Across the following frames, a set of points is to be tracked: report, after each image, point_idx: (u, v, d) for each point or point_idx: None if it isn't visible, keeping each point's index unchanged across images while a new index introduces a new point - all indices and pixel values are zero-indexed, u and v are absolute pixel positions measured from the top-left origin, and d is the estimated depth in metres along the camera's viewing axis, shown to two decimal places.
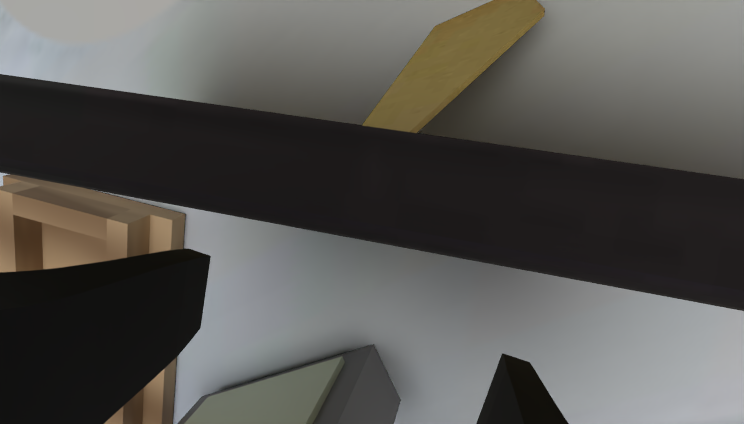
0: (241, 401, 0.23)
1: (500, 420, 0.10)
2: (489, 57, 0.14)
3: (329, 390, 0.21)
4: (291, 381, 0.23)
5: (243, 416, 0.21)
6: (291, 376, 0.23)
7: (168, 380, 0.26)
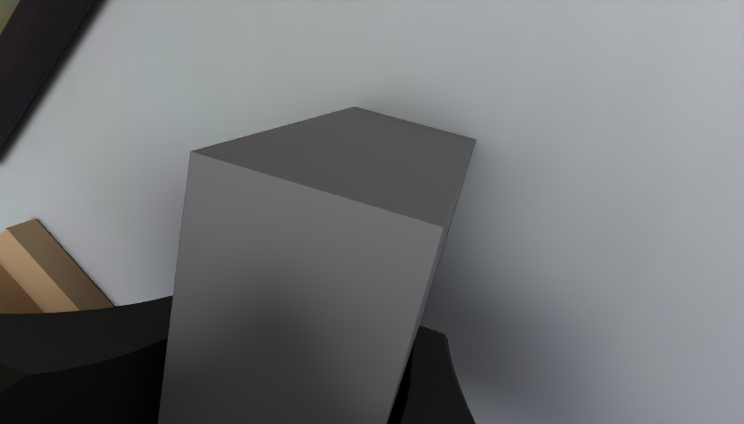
0: None
1: (403, 385, 0.10)
2: None
3: None
4: None
5: None
6: None
7: None
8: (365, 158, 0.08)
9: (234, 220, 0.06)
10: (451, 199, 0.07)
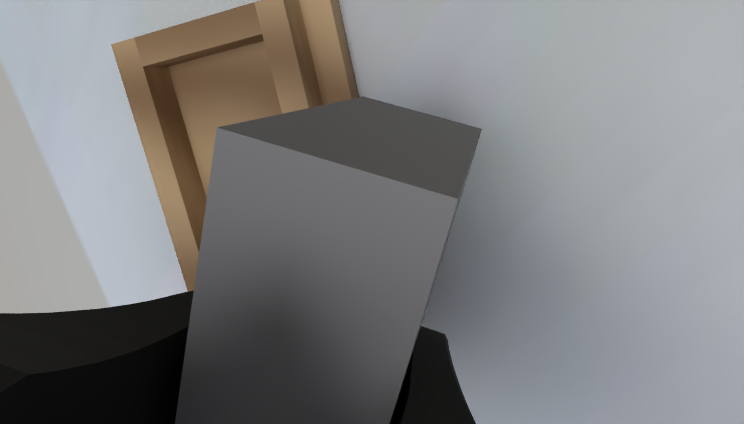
0: None
1: (403, 386, 0.10)
2: None
3: None
4: None
5: None
6: None
7: None
8: (379, 139, 0.08)
9: (257, 193, 0.06)
10: (463, 176, 0.07)
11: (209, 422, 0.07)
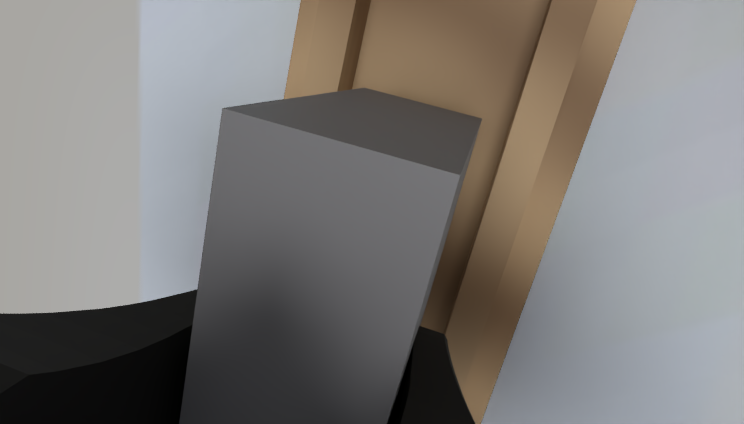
0: None
1: (402, 385, 0.10)
2: None
3: None
4: None
5: None
6: None
7: None
8: (382, 123, 0.08)
9: (263, 173, 0.06)
10: (465, 157, 0.07)
11: (215, 402, 0.08)
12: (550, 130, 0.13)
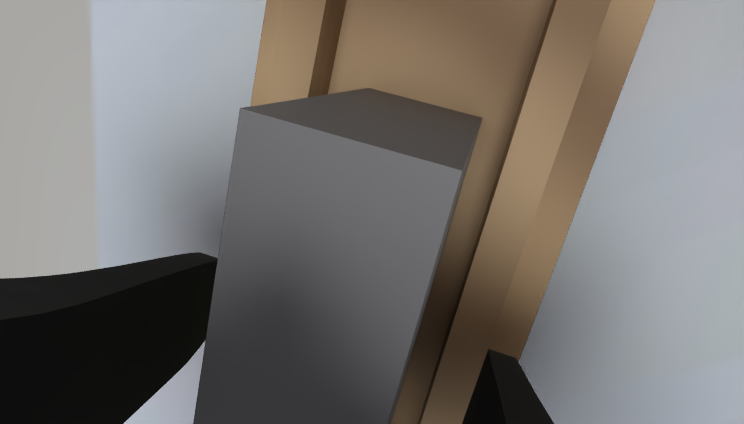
0: None
1: (484, 414, 0.10)
2: None
3: None
4: None
5: None
6: None
7: None
8: (387, 122, 0.09)
9: (277, 169, 0.07)
10: (466, 154, 0.07)
11: (231, 385, 0.08)
12: (558, 141, 0.11)
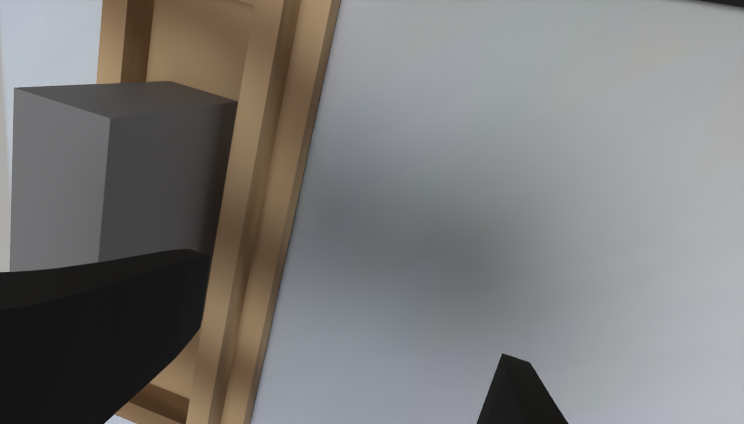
0: None
1: (500, 420, 0.10)
2: None
3: None
4: None
5: None
6: None
7: (288, 219, 0.21)
8: (119, 98, 0.16)
9: (33, 118, 0.14)
10: (139, 114, 0.15)
11: (25, 235, 0.15)
12: (262, 115, 0.18)
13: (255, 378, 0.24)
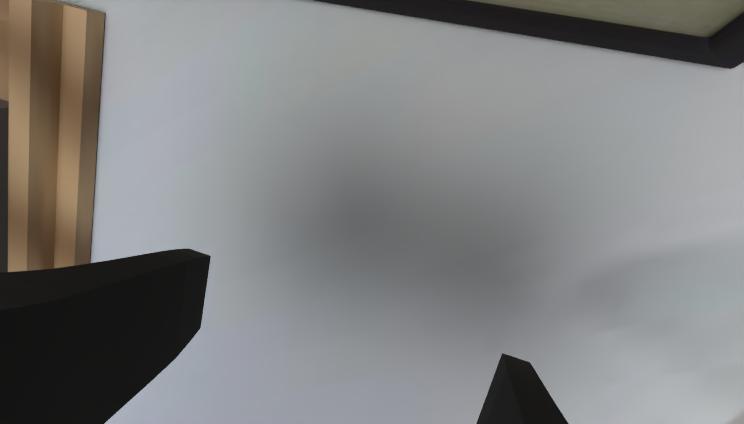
0: None
1: (500, 420, 0.10)
2: None
3: None
4: None
5: None
6: None
7: (83, 211, 0.24)
8: None
9: None
10: None
11: None
12: (28, 118, 0.21)
13: None
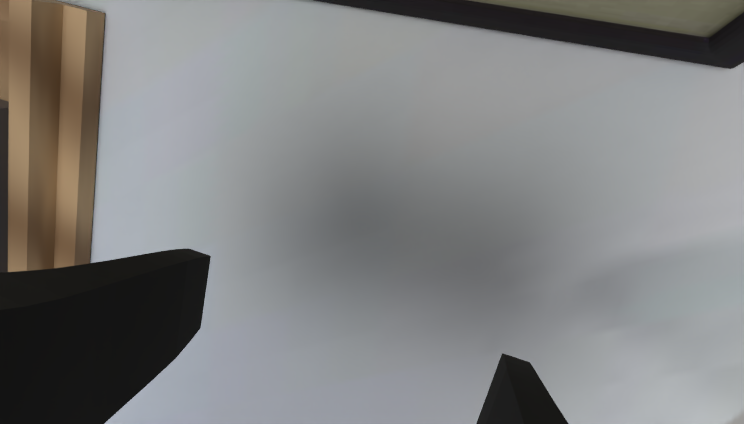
0: None
1: (500, 420, 0.10)
2: None
3: None
4: None
5: None
6: None
7: (83, 211, 0.24)
8: None
9: None
10: None
11: None
12: (28, 118, 0.21)
13: None
